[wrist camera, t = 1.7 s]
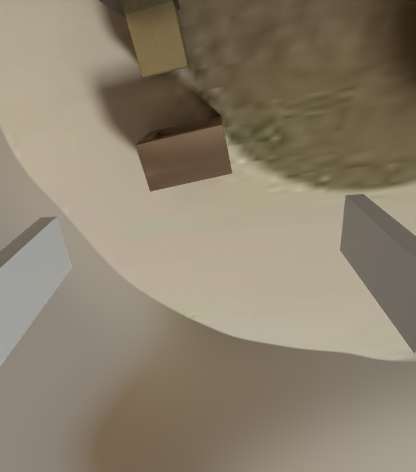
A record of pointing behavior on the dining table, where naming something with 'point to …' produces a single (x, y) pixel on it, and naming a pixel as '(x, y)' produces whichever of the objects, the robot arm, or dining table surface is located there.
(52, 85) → the dining table surface
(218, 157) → the socket block
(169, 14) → the tan sliding insert
